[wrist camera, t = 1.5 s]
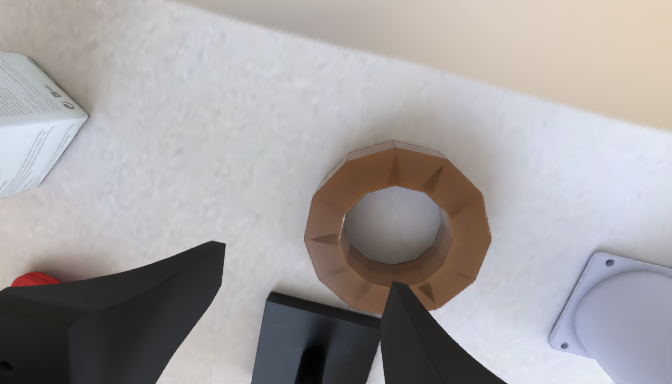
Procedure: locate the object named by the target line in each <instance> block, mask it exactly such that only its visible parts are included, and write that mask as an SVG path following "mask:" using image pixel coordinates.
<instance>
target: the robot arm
mask: <svg viewBox="0 0 672 384" xmlns="http://www.w3.org/2000/svg"><path fill="white" fill-rule="evenodd" d="M225 247H226V244H225V243H220V242H216V241H209V242H206V243H204V244H201V245H199V246H196V247H194V248H191V249H189V250H187V251H184V252H182V253H179V254H177V255H174V256H172V257H169V258H166V259H163V260H160V261H158V262H155V263H152V264H149V265H146V266H143V267H140V268H136V269H132V270H129V271H125V272H121V273H117V274H112V275H107V276H102V277H97V278H92V279H86V280H80V281H73V282H65V283H57V284H46V285H32V286H17V287H7V288H5V289H3V290H1V291H0V384H156V382H157V380H158V379H159V377H160V375H161V374H162V372H163V370H164V369H165V367H166V366H167V364H168V362H169V361H170V359H171V357H172V356H173V355H174V353H175V352H176V350H177V349H178V347H179V346H180V345H181V343H182V342H183V341H184V339H185V338H186V337H187V335H188V334H189V333H190V331H191V330H192V329H193V327H194V326H195V325H196V323H197V322H198V321H199V319H200V318H201V317H202V315H203V314H204V313H205V311H206V310H207V309H208V307H209V306H210V304H211V303H212V301H213V299H214V298H215V296H216V294H217V292H218V290H219V288H220V287H221V284H222V275H223V266H224V257H225ZM609 259H610V261H609V262H608V263H606V261H607V260H609ZM380 342H381V352H382V361H383V369H384V377H385V384H507V383H506V382H504V381H503V380H502V379H500V378H499V377H497V376H496V375H495V374H493V373H492V372H490V371H489V370H488V369H487V368H485V367H484V366H483V365H482V364H480V363H479V362H478V361H477V360H475V359H474V358H473V357H472V356H471V355H469V354H468V353H467V352H466V351H465V350H464V349H463V348H462V347H461V346H460V345H459V344H458V343H456V342H455V341H454V340H453V339H452V338H451V337H450V336H449V335H448V334H447V332H446V331H445V330H444V329H443V328H442V327H441V326H440V325H439V324H438V323H437V321H436V320H435V319H434V318H433V317H432V315H431V314H430V313H429V312H428V311H427V309H426V308H425V307H424V305H423V304H422V303H421V302H420V300H419V299H418V298H417V296H416V295H415V294H414V292H413V291H412V290H411V288H410V287H409V286H408V285H407V284H404V283H400V282H395V281H392V285H391V288H390V291H389V295H388V298H387V301H386V305H385V308H384V311H383V315H382V318H381V332H380ZM548 343H549V345H550V346H551V347H552V348H553V349H556V350H560V351H564V352H568V353H572V354H577V355H581V356H585V357H589V358H593V359H595V360H596V361H597V362H598V364H599V365H600V366H601V367H602V368H603V369H604V371H605V372H606V373H607V374H608V375H609V376H610V378H611V379H612V380H613V381H614V382H615V383H616V384H672V269H671V268H667V267H663V266H658V265H654V264H650V263H646V262H642V261H638V260H633V259H629V258H625V257H621V256H617V255H613V254H608V253H604V252H597V253H595V254H593V256H592V257H591V259H590V261H589V263H588V264H587V266H586V268H585V270H584V272H583V274H582V276H581V278H580V280H579V282H578V284H577V285H576V287H575V289H574V291H573V293H572V295H571V297H570V299H569V301H568V303H567V305H566V306H565V308H564V310H563V312H562V314H561V316H560V318H559V320H558V322H557V324H556V326H555V327H554V329H553V331H552V333H551V335H550V337H549V339H548ZM563 343H564V344H563ZM561 344H563V345H561Z"/></svg>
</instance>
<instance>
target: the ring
mask: <svg viewBox="0 0 672 384" xmlns="http://www.w3.org/2000/svg"><path fill="white" fill-rule="evenodd" d="M392 186H399V187H403V188H407V189H412V190H416V191H420V192H424V193H426V194H427V195H428V196H429V197H430V198H431V199H432V200H433V201H434V202H435V203H436V204H437V205H438V208H439V212H440V216H441V220H442V222H441V225H440V228H439V231H438V234H437V237H436V240H435V242H434V245H433V246H431V247H430V248H429V249H428V250H427V251H426V252H424V253H423V254H422V255H421V256H420V257H419V258H417V259H416V260H413V261H409V262H405V263H400V264H396V265H388V264H384V263H380V262H375V261H371V260H368V259H366V258H365V257H364V256H363V255H362V254H361V253H360V252H359V251H357V250H356V249H355V248H354V247H353V246H352V245H351V244H350V242H349V239H348V236H347V233H346V230H345V227H344V224H343V223H344V219H345V215H346V213H347V212H348V211H349V210H350V209H351V208H352V207H353V206H354V205H355V204H356V203H357V202H358V201H359V200H360V199H361V198H362V197H363V196H364V195H365V194H366V193H370V192H373V191H377V190H381V189H385V188H388V187H392ZM304 242H305V244H306V247H307V250H308V253H309V255H310V258H311V261H312V264H313V266H314V269H315V272H316V274H317V277H318V279H319V280H320V281H321V282H322V283H323V284H324V285H326V286H327V287H328V288H329V289H330V290H331V291H333V292H334V293H335V294H336V295H337V296H338V297H340V298H341V299H342V300H343V301H344V302H345V303H347V304H348V305H349V306H350V307H351V306H352V308H356V309H360V310H364V311H368V312H372V313H376V314H380V315H383V311H384V308H385V305H386V301H387V298H388V295H389V291H390V288H391V285H392V281H395V282H400V283H404V284H407V285H408V286H409V287H410V288H411V290H412V291H413V292H414V294H415V295H416V296H417V298H418V299H419V300H420V302H421V303H422V304H423V305H424V307H425V308H426V309H427V311H431V310H436V309H438V308H441V307H442V306H443V305H445V304H446V303H447V302H448V301H450V300H451V299H452V298H454V297H455V296H456V295H457V294H459V293H460V292H461V291H463V290H464V289H465V288H467V287H468V286H469V285H470V284H472V283H473V282H474V281H475V280H476V277H477V275H478V272H479V270H480V267H481V265H482V262H483V260H484V258H485V255H486V253H487V250H488V248H489V245H490V243H491V233H490V228H489V223H488V218H487V213H486V208H485V204H484V199H483V195H482V193H481V192H480V191H479V190H478V189H477V188H476V187H475V186H474V185H473V184H472V183H471V182H470V181H469V180H468V179H467V178H466V177H465V176H464V175H463V174H462V173H461V172H460V171H459V170H458V169H457V168H456V167H455V166H454V165H453V164H452V163H451V162H450V161H449V160H448V159H446V158H445V157H444V156H443V155H441V154H440V153H439V152H438V151H435V150H432V149H428V148H424V147H419V146H415V145H411V144H407V143H402V142H398V141H394V140H393V141H387V142H384V143H381V144H377V145H374V146H371V147H367V148H364V149H360V150H357V151H354V152H350V153H349V154H347V155H346V156H345V157H344V158H343V159H342V161H341V162H340V163H339V164H338V165H337V166H336V167H335V168H334V169H333V170H332V171H331V172H330V173H329V174H328V175H327V176H326V177H325V178H324V180H323V181H322V182H321V183H320V184H319V186H318V188H317V190H316V192H315V194H314V196H313V197H312V202H311V207H310V211H309V216H308V221H307V226H306V231H305V235H304Z"/></svg>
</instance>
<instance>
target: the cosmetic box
mask: <svg viewBox="0 0 672 384" xmlns="http://www.w3.org/2000/svg"><path fill="white" fill-rule="evenodd" d="M87 118H88V115H87V113H86V112H85V111H84V110H83V109H82V108H81V107H80V106H78V105H77V104H76V103H75V102H74V101H73V100H72V99H71V98H70V97H69V96H67V95H66V94H65V93H64V92H63V91H62V90H61V89H60V88H59V87H58V86H57V85H56V84H55V83H54V82H53V81H52V79H51V78H50V77H49V76H47V75H46V74H45V73H44V72H43V71H42V70H41V69H40V68H39V67H38V66H37V65H36V64H35V63H34V62H33V61H32V60H31V59H30V58H29V57H27V56H26V55H22V54H21V53H17V52H5V51H0V198H2V197H6V196H9V195H12V194H15V193H18V192H22V191H25V190H28V189H31V188H35V187H38V186H39V185H40V183H41V182H42V180H43V179H44V178H45V176H46V175H47V174H48V172H49V171H50V169H51V168H52V167H53V165H54V164H55V163H56V161H57V160H58V158H59V157H60V156H61V154H62V153H63V152H64V150H65V149H66V147H67V146H68V145H69V143H70V142H71V141H72V139H73V137H74V136H75V134H76V133H77V131H78V130H79V128H80V127H81V126H82V125H83V123H84V122H85V121H86V120H87Z"/></svg>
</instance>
